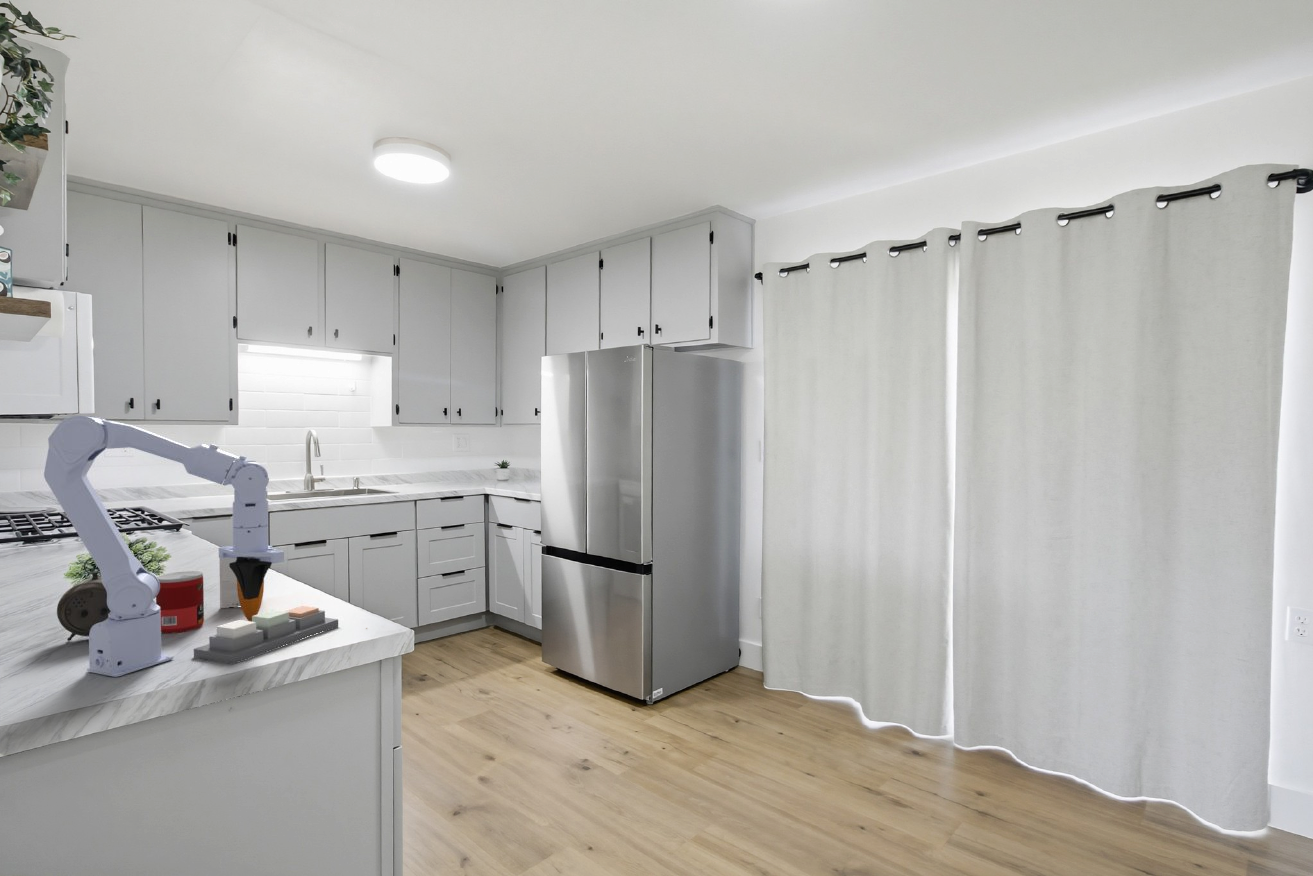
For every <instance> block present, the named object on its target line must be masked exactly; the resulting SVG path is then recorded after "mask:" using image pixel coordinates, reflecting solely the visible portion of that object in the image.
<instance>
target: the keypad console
mask: <svg viewBox="0 0 1313 876" xmlns="http://www.w3.org/2000/svg"><path fill="white" fill-rule="evenodd" d="M325 613H326V610H320V609H319V612H317V613H314V614H311V615H307V616H304V617H301V618H298V617H290V616H289V622H286V623H282V624H279V625H276V626H273V627H270V628H265V627H259V626H256V632H254V633H251V634H248V635H245V636H242V637H239V638H235V639H229V638H223V637H217V633H216V634H213V635H211V636H209V638H208V639H209V642H208V644H205V645H204V644H203V645H202V646H199V647H195V648H193V658H197V659H201V660H208V661H214V662H219V661H220V662H219V663H226V664H230V663H232V664H231V665H234V663H235V664H237V663H239V662H238V661H240V662H243V661H246V660H248V658H249V659H250V658H254V657H257V656H260V655H262V653H263V654H265V653H267V651H268V652H271V651H274V650H276V648H277V649H279V648H278V647H280V648H282V647H284V646H283V645H285V646H287V645H286V644H288V645H290V643H291V644H293V643H292V642H294V643H296V642H298V641H297V640H299V641H301V640H300V639H302V638H305V637H307V636H310V635H313V636H315V635H314V634H316V633H319V634H321V633H320V632H322V631H325V632H327V631H329V630H328V629H330V630H332V628H333V629H335V628H338V627H339V619H338V618H331V617H326V614H325ZM326 630H327V631H326ZM322 633H323V632H322ZM316 635H317V634H316ZM310 637H311V636H310ZM305 639H306V638H305ZM302 640H303V639H302ZM295 641H296V642H295ZM281 646H282V647H281ZM273 649H274V650H273ZM270 650H271V651H270ZM259 654H260V655H259ZM253 656H254V657H253ZM245 659H246V660H245Z"/></svg>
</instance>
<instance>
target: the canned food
mask: <svg viewBox="0 0 1313 876" xmlns="http://www.w3.org/2000/svg"><path fill="white" fill-rule="evenodd" d="M203 574H204V573H203V571H199V570H198V571H197V570H192V571H191V570H189V571H188V570H187V571H178V572H177V571H176V572H170V573H166V574H161V575H159V576H156V577H157V578H158V580H159V582H160V590H159V593H158V595H157V596H156V597H155V603H156V604H157V605H158V606H160V611H161V634H177V633H185V632H189V631H193V629H194V630H197V629H198V628H201V627H202V626H203V625H204V621H205V611H204V610H205V606H204V605H205V604H204V600H205V599H204V598H205V597H204V595H205V594H204V590H205V588H204V575H203ZM196 628H197V629H196Z"/></svg>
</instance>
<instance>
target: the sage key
mask: <svg viewBox="0 0 1313 876" xmlns="http://www.w3.org/2000/svg"><path fill="white" fill-rule="evenodd" d="M252 622H256V626H259V627H265V628H270V627H273V626H276V625H279V624H282V623H286V622H289V612H284V611H282V610H276V609H272V610H268V611H265V612H261V613H258V614H257V615H254V616H252Z"/></svg>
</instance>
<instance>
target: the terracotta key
mask: <svg viewBox="0 0 1313 876" xmlns="http://www.w3.org/2000/svg"><path fill="white" fill-rule="evenodd" d="M319 610H320V607H314V606H313V607H312V606H305V605H301V606H298V607H294V608H292V609H288V610H285V611H283V612H289V616H290V617H298V618H301V617H304V616H307V615H311V614H314V613H317V612H319Z"/></svg>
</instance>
